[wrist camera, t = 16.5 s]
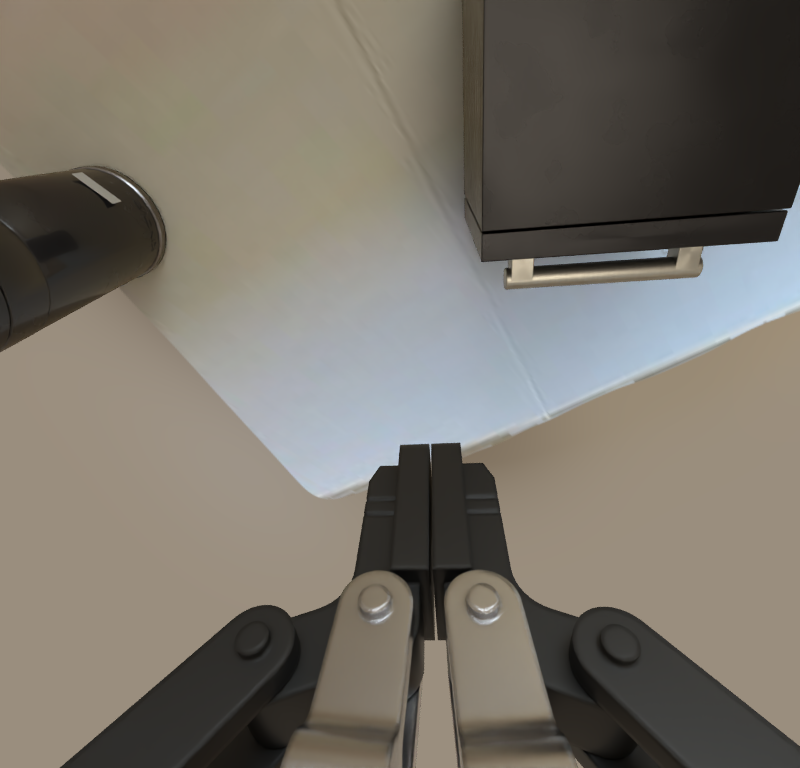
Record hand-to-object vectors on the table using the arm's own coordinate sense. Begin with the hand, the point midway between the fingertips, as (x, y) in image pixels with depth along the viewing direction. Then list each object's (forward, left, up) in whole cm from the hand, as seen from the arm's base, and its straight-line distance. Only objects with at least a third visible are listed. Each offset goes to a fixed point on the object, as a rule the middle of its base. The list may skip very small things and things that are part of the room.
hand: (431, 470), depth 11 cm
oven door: (+11, 0, -31) cm, 33 cm away
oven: (+11, +9, -31) cm, 34 cm away
